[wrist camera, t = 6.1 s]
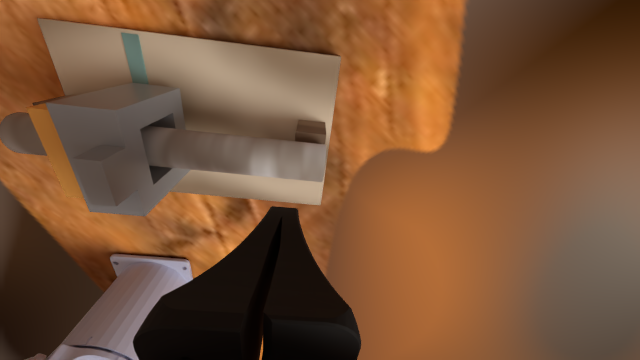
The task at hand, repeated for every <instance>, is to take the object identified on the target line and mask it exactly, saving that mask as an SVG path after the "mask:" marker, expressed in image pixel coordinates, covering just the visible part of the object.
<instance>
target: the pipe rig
mask: <svg viewBox="0 0 640 360" xmlns="http://www.w3.org/2000/svg"><path fill="white" fill-rule="evenodd" d="M37 20H38V23H39V25H40V28H41V31H42V33H43V36H44V39H45V42H46V44H47V47H48V50H49V53H50V55H51V58H52V61H53V63H54V66H55V69H56V72H57V74H58V77H59V80H60V83H61V85H62V88H63V91H64V93H65V96H62V97H58V98H53V99H49V100H44V101H40V102H35V103H33V105H34V106H35V105H39V104H43V103H46V102H51V101H55V100H59V99H64V98H68V97H72V96H77V95H81V94H85V93H90V92H94V91H98V90H103V89H107V88H111V87H116V86H120V85H124V84H129V83H140V84H148V85H157V86H166V87H174V88H180V94H181V101H182V108H183V114H184V121H185V128H186V130H183V129H173V128H164V127H154V126H145V127H143V128H141V129H140V131H141V135H142V139H143V144H144V148H145V152H146V156H147V160H148V164H149V166H159V167H169V168H180V169H190V171H189V172H188V173H187V174H186V175H185V176H184V177H183V178H182V179H181V180H180V181H179V182H178V183H177V184H176V185H175V186H174V187H173V188H172V189H171V190H170V192H181V193H192V194H203V195H214V196H225V197H236V198H247V199H258V200H269V201H280V202H291V203H302V204H313V205H321V198H322V191H323V183H324V176H325V169H326V162H327V155H328V148H329V140H330V133H331V126H332V119H333V112H334V105H335V97H336V90H337V83H338V76H339V69H340V62H341V56H336V55H328V54H320V53H313V52H305V51H297V50H289V49H281V48H273V47H266V46H258V45H250V44H242V43H234V42H226V41H218V40H211V39H203V38H195V37H187V36H179V35H171V34H164V33H156V32H148V31H140V30H132V29H124V28H116V27H109V26H101V25H93V24H85V23H77V22H69V21H61V20H54V19H42V18H37ZM0 138H1V140H2V142H3V143H4V145H5V146H6V147H7V148H9V149H10V150H12V151H14V152H17V153H24V154H35V155H45V156H47V153H46V151H45V149H44V147H43V145H42V142H41V140H40V138H39V136H38V133H37V131H36V129H35V127H34V125H33V122H32V120H31V118H30V116H29V113H21V112H18V113H13V114H10V115H8V116H6V117H5V118H4V119H3V120H2V122H1V124H0Z"/></svg>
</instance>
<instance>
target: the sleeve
mask: <svg viewBox="0 0 640 360" xmlns="http://www.w3.org/2000/svg"><path fill="white" fill-rule="evenodd" d="M45 104H46V106H47V108H48V111H49V113H50V116H51V118H52V121H53V123H54V126H55V128H56V130H57V133H58V135H59V138H60V140H61V143H62V145H63V148H64V150H65V152H66V155H67V157H68V160H69V162H70V165H71V167H72V169H73V172H74V174H75V177H76V179H77V182H78V184H79V187H80V189H81V191H82V194H83V196H84V199H85V201H86V204H87V206H88V209H89V211H90V212H101V213H113V214H124V215H136V216H146V215H147V214H148V213H149V212H150V211H151V210H152V209H153V208H154V207H155V206H156V205H157V204H158V203H159V202H160V201H161V200H162V199H163V198H164V197H165V196H166V195H167V193H168V192H169V191H170V190H171V189H172V188H173V187H174V186H175V185H176V184H177V183H178V182H179V181H180V180H181V179H182V178H183V177H184V176H185V175H186V174H187V173H188V172H189V171H190V169H180V168H169V167H159V166H149V164H148V160H147V156H146V152H145V148H144V144H143V139H142V135H141V131H140V129H141V128H143V127H145V126H154V127H164V128H173V129H183V130H186V128H185V121H184V114H183V108H182V101H181V94H180V88H174V87H166V86H157V85H148V84H140V83H129V84H124V85H120V86H116V87H111V88H107V89H103V90H98V91H94V92H90V93H85V94H81V95H77V96H72V97H68V98H64V99H59V100H55V101H51V102H46V103H45Z"/></svg>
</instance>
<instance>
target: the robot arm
mask: <svg viewBox="0 0 640 360" xmlns="http://www.w3.org/2000/svg"><path fill="white" fill-rule="evenodd" d="M110 261H111V263H112V266H113V268H114V270H115V273H116V275H117V278H116V280H115V281H114V282H113V283H112V284H111V286H110V287H109V288H108V289H107V290H106V291H105V293H104V294H103V295H102V296H101V297H100V299H99V300H98V301H97V302H96V303H95V304H94V306H93V307H92V308H91V309H90V310H89V312H88V313H87V314H86V315H85V316H84V318H83V319H82V320H81V321H80V322H79V323H78V325H77V326H76V327H75V328H74V329H73V330H72V332H71V333H70V334H69V335H68V336H67V338H66V339H65V340H64V341H63V342H62V343H61V345H60V346H59V347H58V348H57V349H56V350H55V351H54V352H53V353H52V354H51V355H50V356H49V357H48V358H47V359H46V360H259V357H260V350H261V344H262V338H263V355H262V360H357V357H358V354H359V351H360V348H361V339H360V334H359V330H358V326H357V323H356V320H355V317H354V314H353V312H352V309H351V308H350V307H349V305H348V304H346V302H345V301H344V300H343V299H342V298H341V297H340V295H339V294H338V293H337V292H336V291H335V290H334V288H333V287H332V286H331V284H330V283H329V281H328V280H327V279H326V277H325V276H324V274H323V273H322V271H321V270H320V268H319V267H318V265H317V263H316V261H315V260H314V258H313V256H312V254H311V252H310V250H309V247H308V245H307V243H306V240H305V238H304V235H303V232H302V229H301V225H300V221H299V216H298V210H297V209H296V208H285V207H273V206H272V207H271V208H270V209H269V211H268V212H267V214H266V215H265V217H264V218H263V219H262V220H261V222H260V223H259V224H258V225H257V226H256V228H255V229H254V230H253V231H252V232H251V233H250V234H249V235H248V236H247V237H246V238H245V240H244V241H243V242H242V243H241V244H239V245H238V246H237V247H236V248H235V249H234V250H233V251H232V252H231V253H229V254H228V255H227V256H226V257H225V258H223V259H222V260H221V261H219V262H218V263H217V264H215V265H214V266H213V267H211V268H210V269H208V270H207V271H205V272H204V273H202V274H201V275H199V276H198V277H196V278H194V279H193V277H192V271H191V266H190V262H189V261H188V260H186V259H177V258H164V257H150V256H137V255H124V254H113V255H112V256H111V257H110ZM46 357H47V356H46V355H43V354H37V355H36V356H35V357H31V358H28V359H26V360H44V359H45V358H46Z"/></svg>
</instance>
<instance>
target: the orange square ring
mask: <svg viewBox="0 0 640 360" xmlns="http://www.w3.org/2000/svg"><path fill="white" fill-rule="evenodd" d="M26 109H27V111H28V113H29V116H30V118H31V120H32V122H33V125H34V127H35V129H36V131H37V133H38V136H39V138H40V140H41V142H42V145H43V147H44V149H45V151H46V153H47V156H48V158H49V160H50V162H51V165H52V167H53V169H54V171H55V173H56V176H57V178H58V180H59V182H60V185H61V187H62V189H63V191H64V193H65V196H66V197H74V198H84V196H83V194H82V191H81V189H80V187H79V184H78V182H77V179H76V177H75V174H74V172H73V169H72V167H71V165H70V162H69V160H68V157H67V155H66V152H65V150H64V148H63V145H62V143H61V140H60V138H59V135H58V133H57V130H56V128H55V126H54V123H53V121H52V118H51V116H50V113H49V111H48V108H47V106H46V104H45V103H43V104H39V105H35V106H31V107H26Z"/></svg>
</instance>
